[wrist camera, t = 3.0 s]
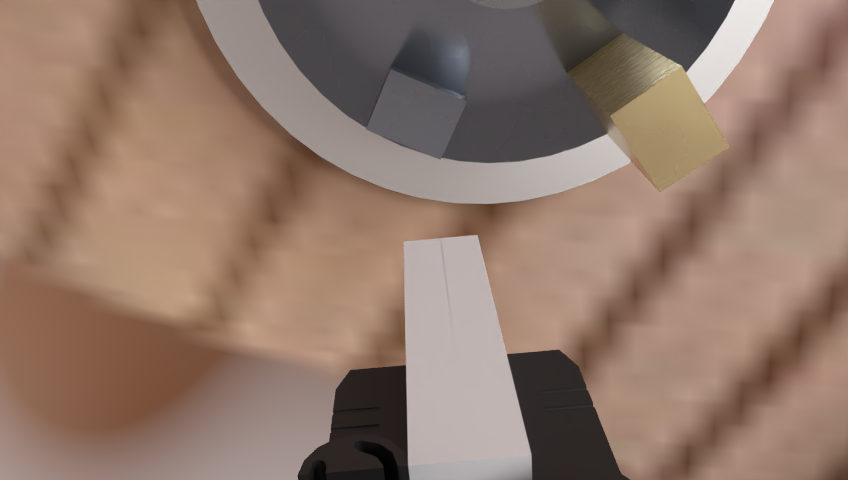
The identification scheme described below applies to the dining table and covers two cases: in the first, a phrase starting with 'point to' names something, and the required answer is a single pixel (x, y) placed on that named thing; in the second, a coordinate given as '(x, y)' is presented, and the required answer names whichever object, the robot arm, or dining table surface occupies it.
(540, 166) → the housing plate
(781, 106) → the dining table surface
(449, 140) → the grey round piece
